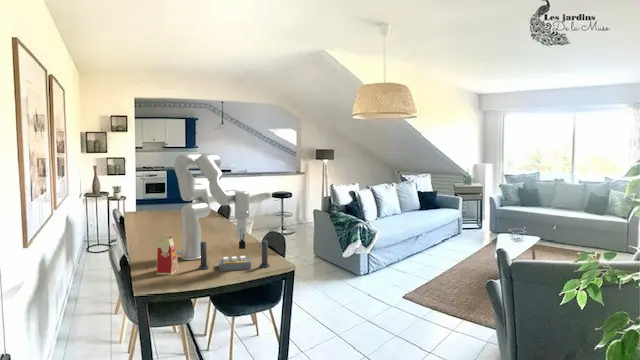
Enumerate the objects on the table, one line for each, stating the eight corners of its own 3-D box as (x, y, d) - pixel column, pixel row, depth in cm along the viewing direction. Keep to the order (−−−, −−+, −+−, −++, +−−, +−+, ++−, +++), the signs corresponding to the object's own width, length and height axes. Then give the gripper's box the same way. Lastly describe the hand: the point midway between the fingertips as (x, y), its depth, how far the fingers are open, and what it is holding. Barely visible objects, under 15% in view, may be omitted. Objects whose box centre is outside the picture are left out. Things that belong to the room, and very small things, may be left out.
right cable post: (259, 267, 213) (260, 242, 211) (260, 264, 218) (260, 239, 216) (269, 267, 214) (269, 242, 212) (269, 264, 219) (269, 239, 217)
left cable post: (198, 269, 208) (197, 243, 207) (199, 266, 213) (199, 241, 211) (208, 269, 209) (207, 243, 207) (209, 266, 214) (208, 241, 212)
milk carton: (178, 269, 209) (177, 231, 207) (172, 274, 200) (171, 235, 198) (160, 268, 209) (159, 231, 207) (153, 274, 199) (153, 235, 198)
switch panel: (219, 272, 206) (219, 261, 206) (218, 266, 216) (218, 256, 215) (250, 269, 211) (250, 259, 211) (248, 264, 221) (248, 254, 220)
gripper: (235, 212, 218) (235, 245, 220) (233, 217, 203) (234, 252, 205) (249, 212, 219) (249, 244, 221) (248, 217, 204) (248, 252, 206)
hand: (242, 248), depth 213 cm, fingers closed
